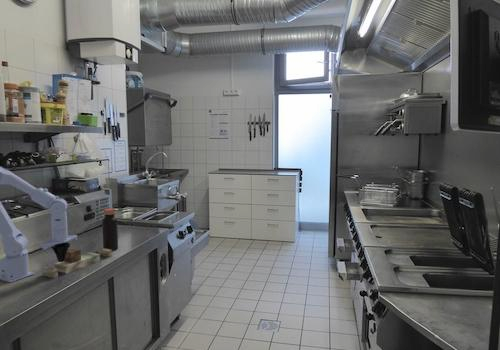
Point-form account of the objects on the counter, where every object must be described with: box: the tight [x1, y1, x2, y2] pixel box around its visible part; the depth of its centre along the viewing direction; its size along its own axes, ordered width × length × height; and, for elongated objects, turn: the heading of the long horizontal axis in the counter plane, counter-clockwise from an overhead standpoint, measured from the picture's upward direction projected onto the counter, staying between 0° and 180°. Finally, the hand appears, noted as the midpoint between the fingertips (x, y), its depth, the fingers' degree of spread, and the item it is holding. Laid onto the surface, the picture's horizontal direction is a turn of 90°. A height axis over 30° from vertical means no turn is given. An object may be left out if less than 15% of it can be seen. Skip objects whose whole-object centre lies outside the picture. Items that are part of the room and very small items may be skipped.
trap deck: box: [42, 247, 113, 279], centre depth 153 cm, size 29×7×3 cm, turn 154°
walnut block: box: [64, 247, 82, 263], centre depth 149 cm, size 4×4×4 cm
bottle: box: [101, 208, 119, 252], centre depth 173 cm, size 7×7×20 cm
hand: (61, 261), depth 145 cm, fingers closed
